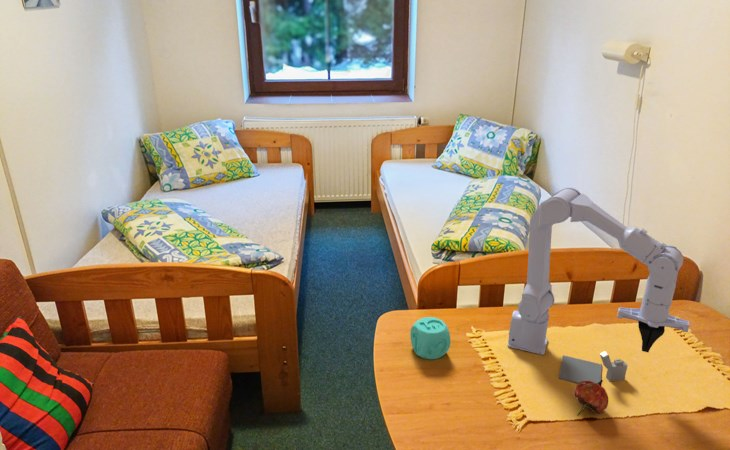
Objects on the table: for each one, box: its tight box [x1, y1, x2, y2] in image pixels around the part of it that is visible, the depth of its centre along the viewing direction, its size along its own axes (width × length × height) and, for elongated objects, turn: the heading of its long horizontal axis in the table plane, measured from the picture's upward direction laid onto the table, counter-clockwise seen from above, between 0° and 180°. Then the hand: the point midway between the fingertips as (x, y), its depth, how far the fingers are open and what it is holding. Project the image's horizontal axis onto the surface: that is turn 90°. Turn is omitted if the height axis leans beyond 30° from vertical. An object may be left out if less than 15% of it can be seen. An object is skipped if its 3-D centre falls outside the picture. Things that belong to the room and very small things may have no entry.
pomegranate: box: [573, 379, 609, 417], centre depth 125 cm, size 7×7×10 cm
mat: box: [558, 354, 603, 384], centre depth 139 cm, size 10×10×1 cm
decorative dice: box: [409, 316, 451, 360], centre depth 145 cm, size 8×8×8 cm
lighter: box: [599, 350, 628, 382], centre depth 135 cm, size 7×2×8 cm, turn 100°
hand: (645, 349), depth 130 cm, fingers closed
